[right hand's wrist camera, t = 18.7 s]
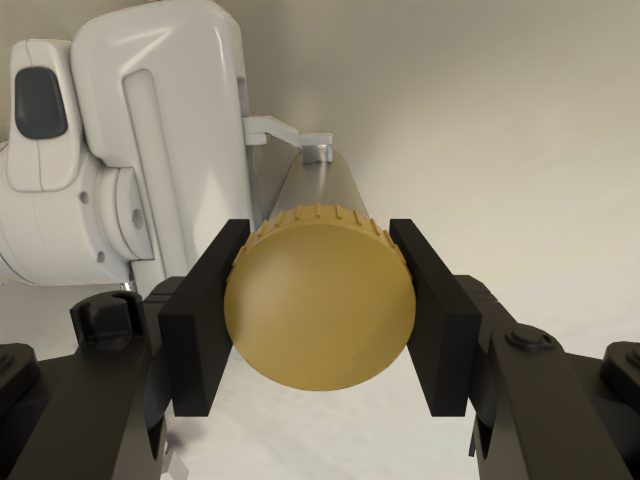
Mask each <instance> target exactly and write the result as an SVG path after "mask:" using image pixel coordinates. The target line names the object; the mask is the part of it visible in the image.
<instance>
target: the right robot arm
mask: <svg viewBox="0 0 640 480" xmlns="http://www.w3.org/2000/svg"><path fill="white" fill-rule="evenodd" d="M250 234H251V232H250V219H229V220H228V221H227V222H226V224H225V225H224V226H223V228H222V229H221V230H220V232H219V233H218V234H217V236H216V237H215V238H214V240H213V241H212V242H211V244H210V245H209V246H208V248H207V249H206V250H205V252H204V253H203V254H202V256H201V257H200V258H199V260H198V261H197V262H196V263H195V265H194V266H193V267H192V269H191V270H190V271H189V273H188V274H187V275H186V276H171V277H169V278H167V279H166V280H164V281H162V282H161V283H159V284H157V285H156V286H155V288H154V289H153V290H152V291H151V292H150V293H149V296H147V297H146V298H145V299H144V300H143V299H142V296H141V295H140V294H138V293H137V292H133V291H128V290H118V291H110V292H104V293H100V294H97V295H94V296H91V297H88V298H86V299H84V300H82V301H80V302H79V303H77V304H76V305H75V306H73V307H72V308H71V309H70V310H69V311H70V315H71V318H72V322H73V326H74V329H75V333H76V337H77V341H78V344H79V346H78V348H77V350H76V352H75V354H73V355H69V356H64V357H59V358H53V359H48V360H43V361H37V359H36V356H35V353H34V349H33V348H32V347H30V346H29V345H28V344H20V343H13V344H1V345H0V480H160V477H161V469H162V462H163V455H164V447H165V440H166V433H167V428H166V422H165V416H164V412H165V410H166V408H167V406H168V404H169V402H170V400H171V398H172V402H173V408H174V413H175V417H208V415H209V412H210V409H211V406H212V403H213V401H214V398H215V395H216V392H217V389H218V386H219V384H220V381H221V378H222V375H223V372H224V369H225V366H226V364H227V361H228V358H229V355H230V352H231V349H232V347H233V343H232V341H231V339H230V336H229V334H228V331H227V328H226V324H225V315H224V295H225V290H226V286H227V283H226V280H227V278H228V276H229V274H230V272H231V270H232V268H233V266H232V264H233V262H234V260H235V259H236V257H237V255H238V253H239V251H240V249H241V247H242V246H244V245H245V243H246V241H247V240H248V238H249V236H250ZM389 235H390V237H391V239H392V241H393V243H394V245H395V244H397V246H398V248H399V250H400V252H401V253H402V255H403V257H404V259H405V261H406V266H407V268H408V270H409V271H410V273H411V275H412V277H413V280H412V284H413V286H414V291H415V296H416V312H415V322H414V327H413V330H412V333H411V335H410V338H409V340H408V342H407V347H408V350H409V353H410V356H411V359H412V361H413V364H414V367H415V370H416V373H417V376H418V379H419V381H420V384H421V387H422V390H423V393H424V396H425V398H426V401H427V404H428V407H429V410H430V413H431V415H432V417H465V412H466V406H467V400H468V397H469V399H470V401H471V403H472V405H473V407H474V409H475V411H476V416H475V422H474V427H473V432H472V438H471V443H470V448H469V455H468V456H471V457H474V453H475V449H476V454H477V461H478V468H479V476H480V480H640V343H638V342H636V343H635V342H626V341H621V342H613V343H612V344H610V345H609V346H607V348H606V352H605V355H604V358H603V360H601V359H596V358H591V357H585V356H580V355H575V354H570V353H566V352H565V351H564V350H563V348H562V346H561V344H560V343H559V342H558V341H557V340H556V339H555V338H554V337H553V336H551V335H550V334H548V333H546V332H545V331H543V330H540V329H538V328H535V327H533V326H530V325H525V324H521V323H517V321H516V320H515V319H514V318H513V317H512V316H511V315H510V314H509V312H508V311H507V310H506V309H505V308H504V307H503V306H502V304H501V303H500V302H498V300H497V299H496V298H495V297H494V295H493V294H491V292H490V291H489V290H488V289H487V287H486V286H485V285H484V284H483V283H482V282H480V281H478V280H476V279H475V278H473V277H471V276H469V275H453V274H452V273H451V272H450V270H449V269H448V268H447V266H446V265H445V264H444V263H443V261H442V260H441V259H440V257H439V256H438V255H437V253H436V252H435V251H434V249H433V248H432V247H431V245H430V244H429V243H428V241H427V240H426V239H425V237H424V236H423V235H422V233H421V232H420V231H419V229H418V228H417V227H416V225H415V224H414V223H413V221H412V220H411V219H390V228H389Z"/></svg>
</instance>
